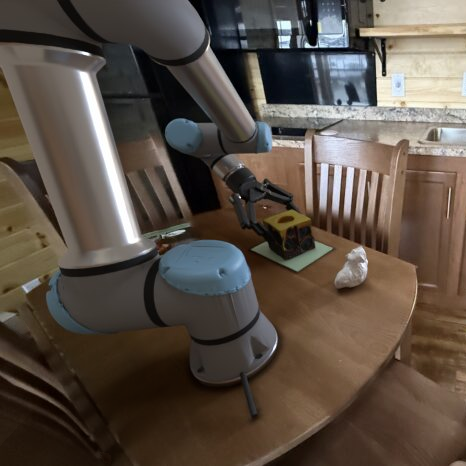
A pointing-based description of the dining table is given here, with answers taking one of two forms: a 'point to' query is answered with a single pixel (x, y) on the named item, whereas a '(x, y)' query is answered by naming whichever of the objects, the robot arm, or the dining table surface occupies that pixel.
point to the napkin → (296, 262)
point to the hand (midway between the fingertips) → (289, 230)
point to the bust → (353, 269)
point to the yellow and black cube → (290, 234)
